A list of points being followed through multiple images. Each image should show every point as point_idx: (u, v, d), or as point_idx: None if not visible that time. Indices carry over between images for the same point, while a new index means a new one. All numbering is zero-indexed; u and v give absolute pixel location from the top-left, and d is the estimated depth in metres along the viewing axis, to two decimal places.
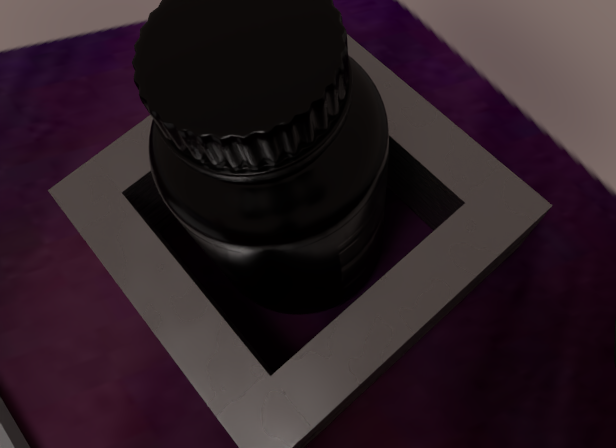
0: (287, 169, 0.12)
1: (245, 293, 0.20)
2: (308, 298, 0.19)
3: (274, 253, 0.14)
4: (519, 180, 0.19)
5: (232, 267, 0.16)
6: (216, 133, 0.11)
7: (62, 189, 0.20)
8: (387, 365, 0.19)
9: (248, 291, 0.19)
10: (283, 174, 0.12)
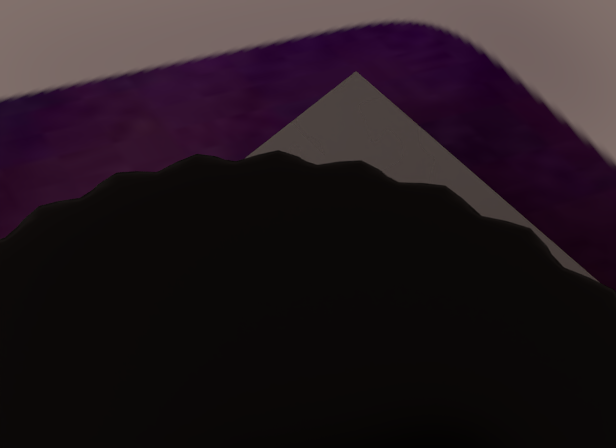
0: None
1: None
2: None
3: None
4: None
5: None
6: None
7: None
8: None
9: None
10: None
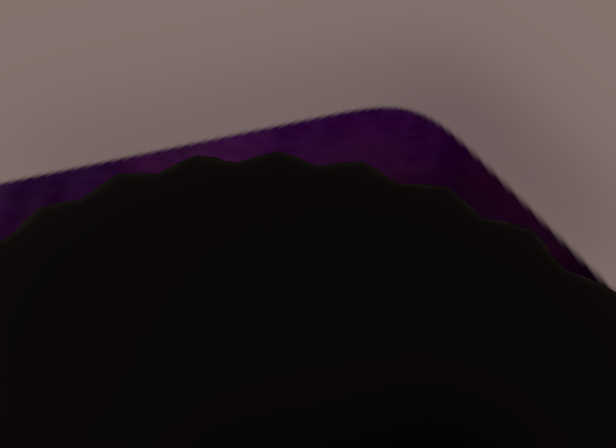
0: None
1: None
2: None
3: None
4: None
5: None
6: None
7: None
8: None
9: None
10: None
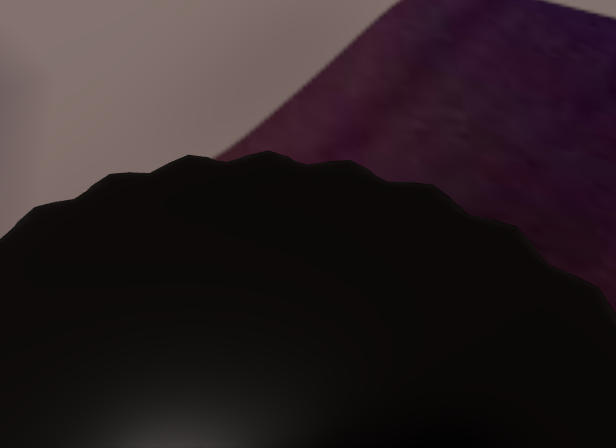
0: None
1: None
2: None
3: None
4: None
5: None
6: None
7: None
8: None
9: None
10: None
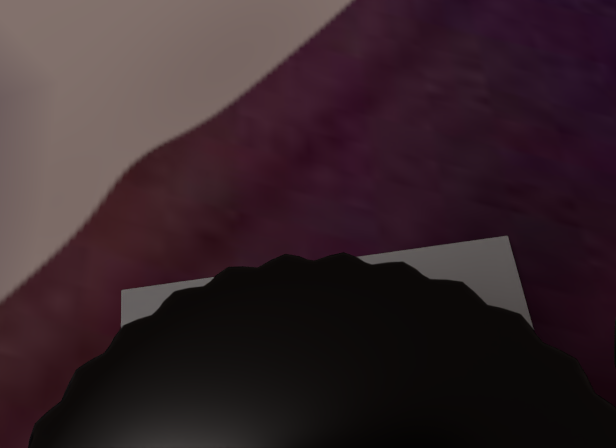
0: None
1: None
2: None
3: None
4: None
5: None
6: None
7: None
8: None
9: None
10: None
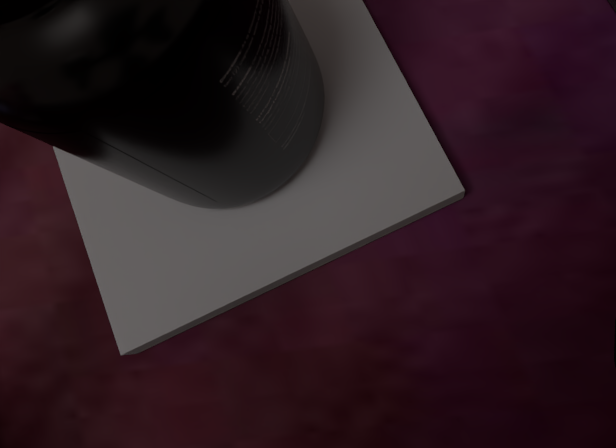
0: None
1: (172, 197, 0.16)
2: (240, 176, 0.15)
3: (122, 116, 0.10)
4: None
5: (107, 162, 0.12)
6: None
7: None
8: None
9: (167, 192, 0.15)
10: None
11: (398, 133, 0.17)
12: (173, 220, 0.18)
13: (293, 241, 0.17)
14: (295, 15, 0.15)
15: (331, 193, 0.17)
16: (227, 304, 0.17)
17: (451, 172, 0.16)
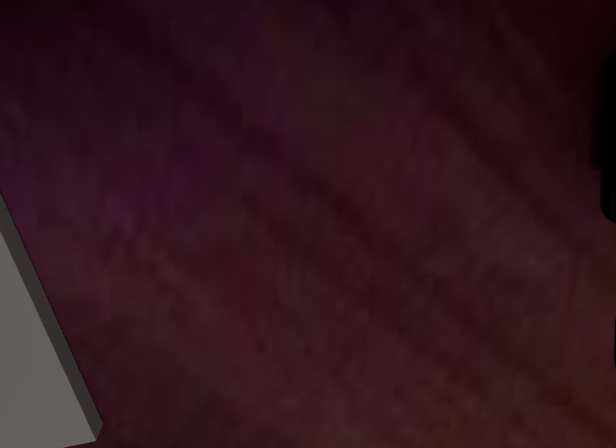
0: None
1: None
2: None
3: None
4: None
5: None
6: None
7: None
8: None
9: None
10: None
11: None
12: None
13: (10, 309, 0.20)
14: None
15: None
16: (61, 363, 0.21)
17: None
